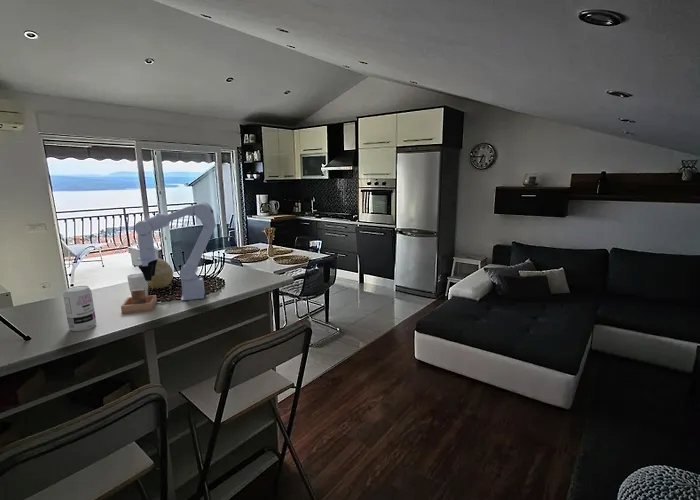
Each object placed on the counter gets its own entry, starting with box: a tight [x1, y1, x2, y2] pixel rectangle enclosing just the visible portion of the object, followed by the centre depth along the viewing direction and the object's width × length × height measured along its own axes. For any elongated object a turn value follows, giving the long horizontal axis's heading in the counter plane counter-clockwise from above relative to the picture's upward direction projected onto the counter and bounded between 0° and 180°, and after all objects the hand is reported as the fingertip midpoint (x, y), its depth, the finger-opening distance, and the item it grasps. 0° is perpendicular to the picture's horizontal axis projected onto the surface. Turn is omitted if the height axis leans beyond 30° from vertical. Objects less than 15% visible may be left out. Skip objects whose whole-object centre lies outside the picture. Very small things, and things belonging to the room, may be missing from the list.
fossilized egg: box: [148, 257, 174, 290], centre depth 176 cm, size 13×13×15 cm
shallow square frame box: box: [120, 294, 158, 314], centre depth 151 cm, size 11×11×3 cm
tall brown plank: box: [130, 289, 146, 303], centre depth 151 cm, size 4×2×7 cm, turn 109°
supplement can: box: [62, 285, 97, 332], centre depth 131 cm, size 8×8×15 cm
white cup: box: [126, 272, 149, 297], centre depth 165 cm, size 8×8×10 cm
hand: (150, 278), depth 158 cm, fingers open, 7 cm apart
